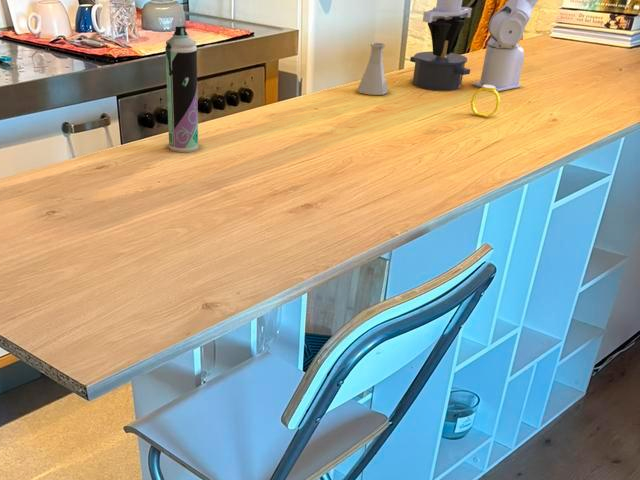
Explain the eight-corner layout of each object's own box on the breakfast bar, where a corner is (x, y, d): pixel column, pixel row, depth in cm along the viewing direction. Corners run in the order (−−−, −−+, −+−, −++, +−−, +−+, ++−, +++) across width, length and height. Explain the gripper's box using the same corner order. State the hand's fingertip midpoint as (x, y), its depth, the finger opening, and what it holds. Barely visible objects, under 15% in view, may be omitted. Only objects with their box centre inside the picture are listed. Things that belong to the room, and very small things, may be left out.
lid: (437, 54, 202) (441, 33, 199) (477, 64, 194) (481, 42, 191) (402, 60, 195) (405, 38, 192) (442, 70, 188) (445, 47, 185)
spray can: (187, 154, 150) (184, 30, 137) (163, 148, 152) (158, 26, 139) (203, 147, 154) (202, 25, 141) (180, 141, 156) (177, 21, 143)
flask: (386, 97, 187) (392, 48, 181) (355, 94, 188) (360, 45, 182) (389, 89, 193) (394, 42, 186) (358, 87, 194) (363, 39, 187)
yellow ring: (467, 115, 177) (472, 85, 173) (471, 112, 179) (476, 82, 175) (494, 119, 175) (500, 89, 171) (497, 116, 177) (504, 86, 173)
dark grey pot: (426, 75, 206) (430, 50, 202) (479, 89, 196) (483, 63, 192) (394, 80, 200) (397, 55, 197) (447, 95, 190) (451, 69, 187)
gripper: (459, -17, 191) (448, 48, 200) (417, -13, 184) (408, 54, 193) (482, -13, 187) (470, 53, 196) (440, -9, 180) (430, 60, 188)
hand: (441, 54), depth 194 cm, fingers closed on lid, 2 cm apart
